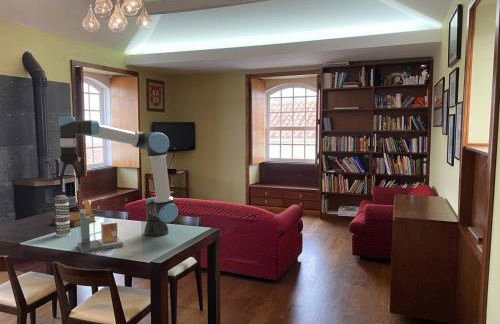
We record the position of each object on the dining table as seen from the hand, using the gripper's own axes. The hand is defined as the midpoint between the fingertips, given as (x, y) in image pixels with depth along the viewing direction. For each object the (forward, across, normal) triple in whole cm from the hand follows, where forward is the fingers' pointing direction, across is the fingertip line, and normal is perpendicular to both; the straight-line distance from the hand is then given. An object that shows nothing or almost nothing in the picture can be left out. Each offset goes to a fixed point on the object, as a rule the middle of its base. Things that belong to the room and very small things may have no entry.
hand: (70, 190), depth 204 cm
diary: (+36, -10, -77) cm, 85 cm away
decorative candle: (+35, 0, -48) cm, 59 cm away
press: (+35, -15, -10) cm, 39 cm away
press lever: (+16, -8, -7) cm, 19 cm away
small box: (+32, -20, -8) cm, 39 cm away
